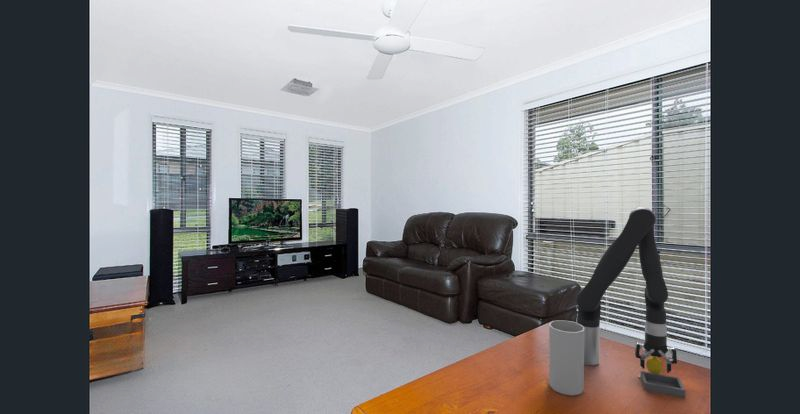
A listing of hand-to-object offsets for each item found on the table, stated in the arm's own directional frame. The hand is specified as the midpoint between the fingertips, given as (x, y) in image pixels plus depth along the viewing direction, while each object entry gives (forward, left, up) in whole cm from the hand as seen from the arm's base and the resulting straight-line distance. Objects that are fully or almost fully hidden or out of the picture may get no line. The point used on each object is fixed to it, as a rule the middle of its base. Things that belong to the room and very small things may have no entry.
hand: (655, 369), depth 156 cm
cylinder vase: (-33, -25, -3) cm, 42 cm away
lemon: (0, 0, -3) cm, 3 cm away
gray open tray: (+1, -10, -2) cm, 10 cm away
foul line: (+1, -4, -2) cm, 5 cm away
